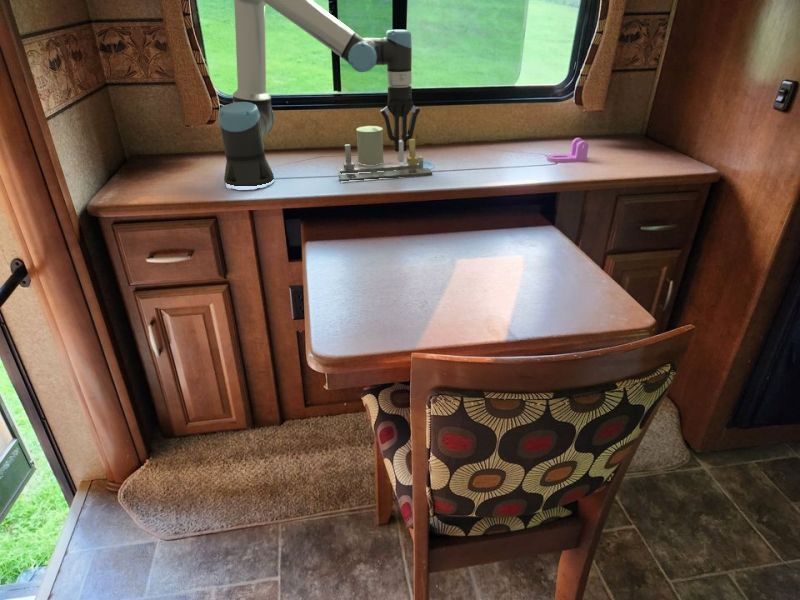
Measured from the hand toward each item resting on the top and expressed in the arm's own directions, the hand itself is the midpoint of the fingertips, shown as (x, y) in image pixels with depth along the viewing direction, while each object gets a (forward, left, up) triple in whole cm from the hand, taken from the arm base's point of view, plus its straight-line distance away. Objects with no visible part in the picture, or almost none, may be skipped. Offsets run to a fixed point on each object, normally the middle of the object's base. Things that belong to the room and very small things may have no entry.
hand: (400, 160), depth 174 cm
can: (-8, +11, -3) cm, 14 cm away
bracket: (+59, -4, -3) cm, 59 cm away
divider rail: (-7, 0, -3) cm, 7 cm away
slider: (+4, 0, -1) cm, 4 cm away
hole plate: (-7, -6, -3) cm, 10 cm away
